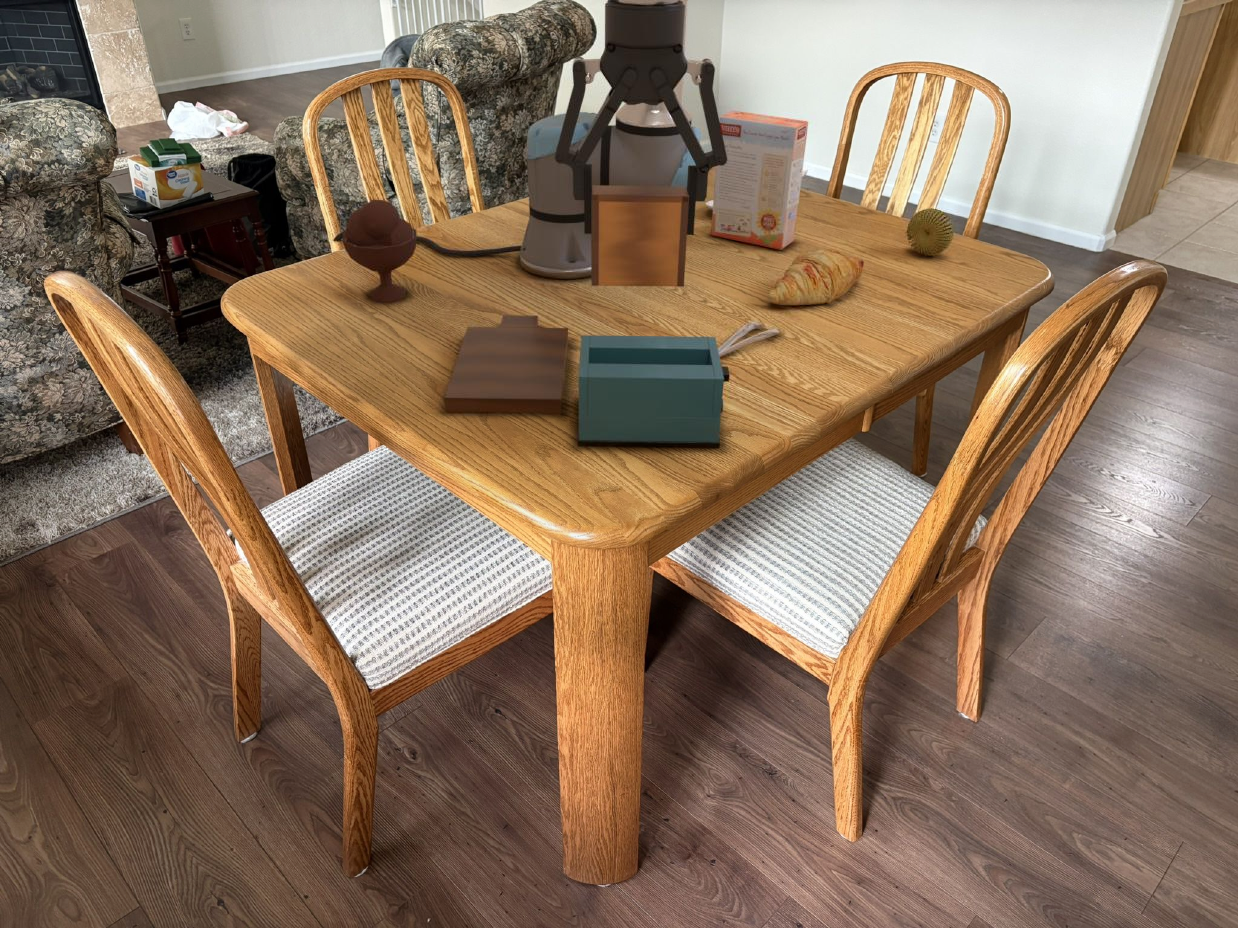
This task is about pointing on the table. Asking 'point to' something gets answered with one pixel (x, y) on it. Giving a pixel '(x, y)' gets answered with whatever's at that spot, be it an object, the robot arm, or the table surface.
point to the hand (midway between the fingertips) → (638, 230)
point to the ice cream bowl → (380, 245)
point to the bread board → (509, 368)
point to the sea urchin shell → (930, 232)
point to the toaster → (650, 391)
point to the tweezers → (752, 325)
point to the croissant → (816, 278)
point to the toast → (638, 235)
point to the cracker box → (759, 179)
